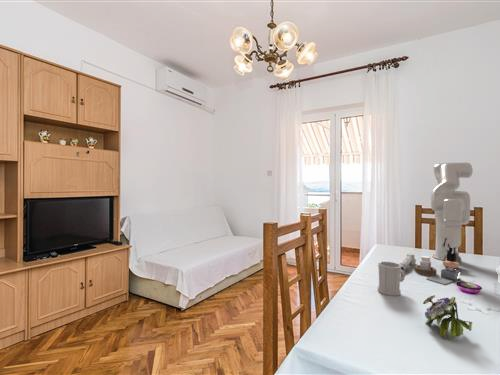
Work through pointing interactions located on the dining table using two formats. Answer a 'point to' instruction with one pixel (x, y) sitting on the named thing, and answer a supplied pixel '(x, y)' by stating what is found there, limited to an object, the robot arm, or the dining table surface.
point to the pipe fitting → (458, 259)
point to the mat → (440, 280)
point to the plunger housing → (449, 274)
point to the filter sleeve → (425, 271)
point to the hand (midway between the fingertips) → (451, 261)
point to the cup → (390, 278)
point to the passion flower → (444, 309)
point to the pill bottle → (425, 263)
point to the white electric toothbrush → (407, 261)
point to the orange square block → (451, 265)
